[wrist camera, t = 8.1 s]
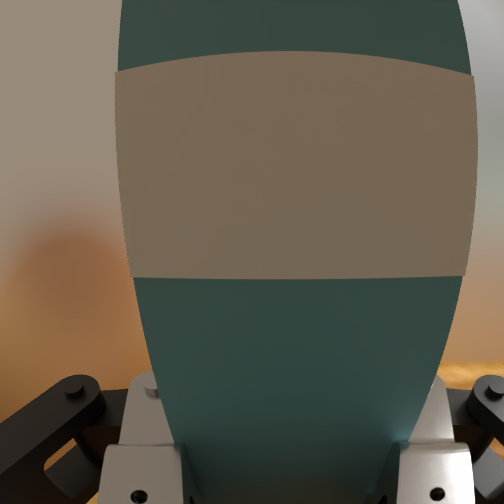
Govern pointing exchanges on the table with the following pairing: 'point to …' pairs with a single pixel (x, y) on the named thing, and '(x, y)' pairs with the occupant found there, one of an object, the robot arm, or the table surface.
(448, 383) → the table surface
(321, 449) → the book
